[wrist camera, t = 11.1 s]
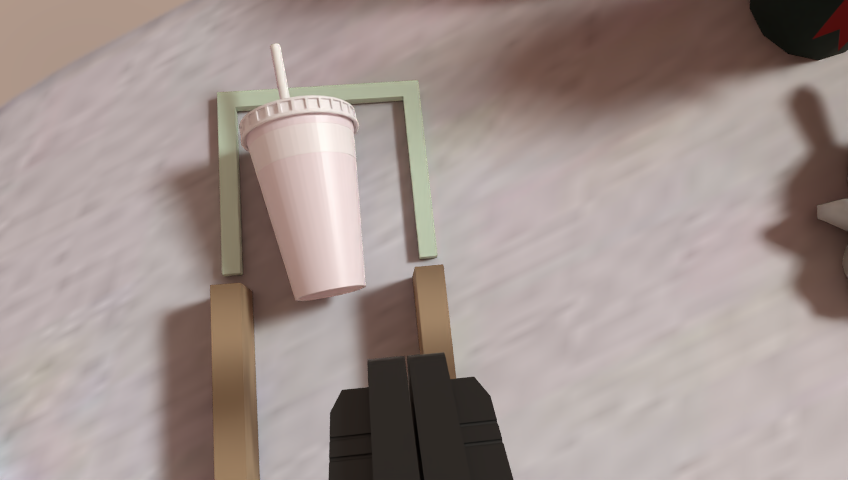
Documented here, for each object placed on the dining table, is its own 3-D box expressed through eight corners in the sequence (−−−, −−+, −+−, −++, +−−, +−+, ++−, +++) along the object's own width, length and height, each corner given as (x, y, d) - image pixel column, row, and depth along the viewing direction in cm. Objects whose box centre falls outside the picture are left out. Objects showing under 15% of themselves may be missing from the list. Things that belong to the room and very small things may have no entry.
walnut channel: (462, 497, 32) (470, 508, 29) (231, 525, 31) (215, 539, 28) (438, 274, 35) (443, 264, 32) (225, 293, 34) (209, 285, 31)
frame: (436, 257, 35) (437, 255, 34) (224, 276, 34) (221, 274, 33) (417, 84, 37) (418, 79, 37) (219, 97, 36) (217, 92, 36)
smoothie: (249, 312, 32) (209, 68, 34) (353, 296, 36) (310, 79, 38) (301, 288, 27) (250, 5, 29) (415, 273, 31) (362, 25, 33)
